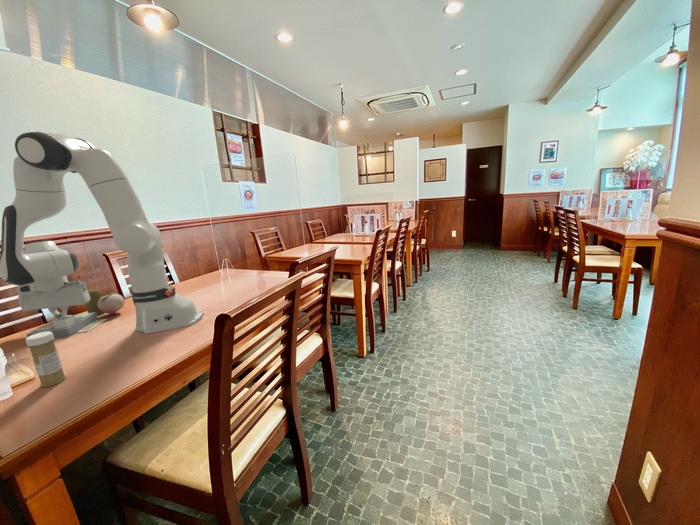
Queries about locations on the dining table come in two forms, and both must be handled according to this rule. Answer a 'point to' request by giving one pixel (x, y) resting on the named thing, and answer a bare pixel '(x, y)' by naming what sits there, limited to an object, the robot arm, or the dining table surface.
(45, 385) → the sprinkles bottle
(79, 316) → the key
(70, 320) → the key
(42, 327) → the key
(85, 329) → the strip
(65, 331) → the keypad board
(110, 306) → the decorative fruit
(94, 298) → the olive green cup
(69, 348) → the dining table surface
